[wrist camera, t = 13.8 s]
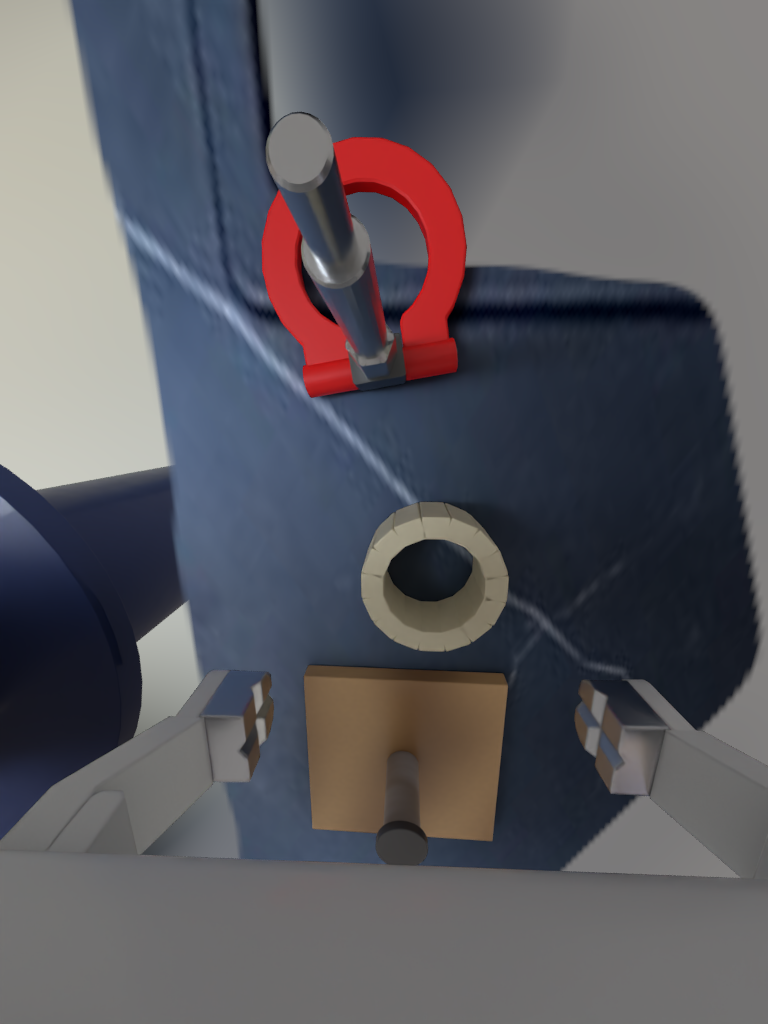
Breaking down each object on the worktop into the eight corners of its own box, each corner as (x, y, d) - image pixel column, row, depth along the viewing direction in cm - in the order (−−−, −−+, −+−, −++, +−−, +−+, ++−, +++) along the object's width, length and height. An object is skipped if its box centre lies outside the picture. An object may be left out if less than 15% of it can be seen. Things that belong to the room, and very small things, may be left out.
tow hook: (252, 183, 15) (296, 405, 17) (-447, -983, 3) (-16, 303, 4) (449, 136, 15) (475, 373, 16) (714, -1759, 2) (707, 143, 4)
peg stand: (315, 812, 23) (290, 922, 18) (308, 664, 21) (275, 744, 15) (489, 824, 23) (513, 942, 17) (503, 672, 20) (537, 759, 15)
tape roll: (368, 616, 20) (362, 649, 17) (367, 501, 18) (359, 516, 15) (487, 619, 19) (502, 654, 16) (496, 502, 18) (514, 518, 15)
